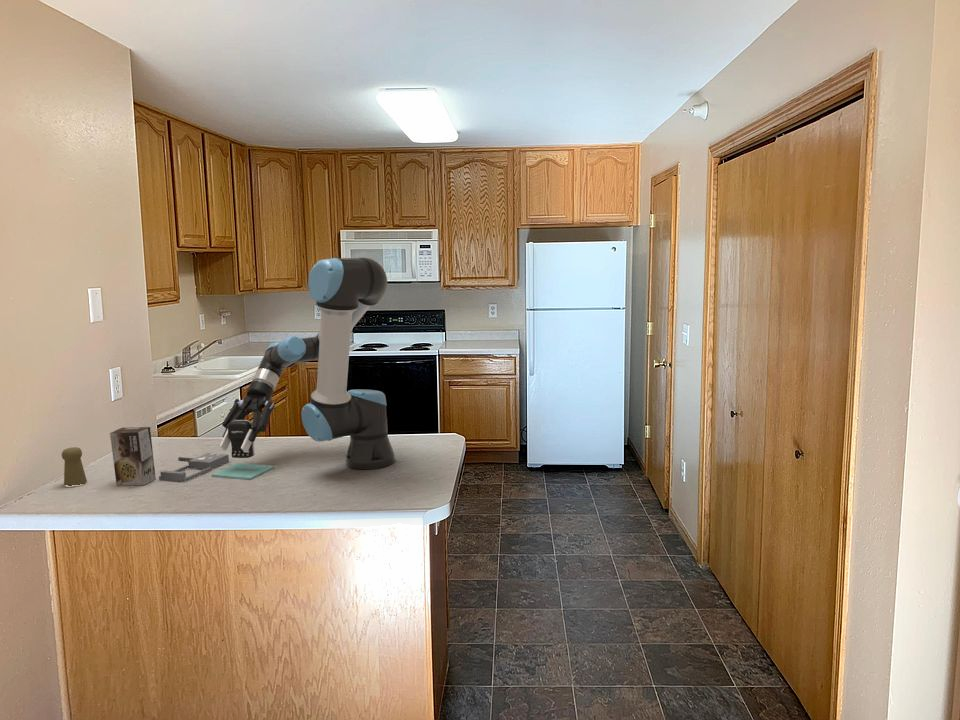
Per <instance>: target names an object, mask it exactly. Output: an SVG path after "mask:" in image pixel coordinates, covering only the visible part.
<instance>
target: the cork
mask: <svg viewBox="0 0 960 720" xmlns="http://www.w3.org/2000/svg"><path fill="white" fill-rule="evenodd" d="M82 457H83V451H82V449H81V448H80V447H73V446H72V447H68V448H65V449H63V450H62V452H61V458H62V459H63V461H64V467H63V468H64V469H63V470H64V471H63V480H64V481H63V486H64V485H68V486H72V485H80V484H84V483H86V482H87V483H88V479H87V476H86V473H85V469H84V465H83V462H82ZM87 483H86V484H87ZM84 485H85V484H84Z"/></svg>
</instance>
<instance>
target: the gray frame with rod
mask: <svg viewBox="0 0 960 720" xmlns="http://www.w3.org/2000/svg"><path fill="white" fill-rule="evenodd" d="M177 460H178V461H183V460H189V461H187V462H188V464H187V465H183V466H181V467H178V468H177V469H174V470H165V469H164V470H162V471H160V473H159V474H160V475H159V476H158V480H159V481H167V480H170V481H171V482H178V481H182V482H183V483H186V482H188V480H189V481H191V480H193V479H195V478H194V477H196V478H197V476H198V477H200V476H203V475H205V474H206V473H209V472H212V470H214V469H217V468H218V467H221V466H223V465H225V464H228V463H229V462H230V458H229V454H225V453H216V452H215V453H214V452H208V453H204V454H202V455H200V456H197V457H194V458H193V457H182V456H179V457H178V459H177ZM187 468H196V469H195V470H199V471H197V472H194V473H193V474H190V475H188V476H187V473H186V472H185V471H186V470H185V469H187ZM200 469H204V470H200ZM183 470H184V471H183ZM187 470H188V469H187ZM181 471H182V472H181ZM202 474H203V475H202ZM199 475H200V476H199ZM192 478H193V479H192ZM190 479H191V480H190ZM185 481H186V482H185ZM182 482H181V483H182Z"/></svg>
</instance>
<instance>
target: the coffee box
mask: <svg viewBox="0 0 960 720" xmlns="http://www.w3.org/2000/svg"><path fill="white" fill-rule="evenodd" d="M109 437H110V438H109V439H110V445H111V453H112V461H113V467H114V474H115V475H114V476H115V483H116V484H115V485H116V486H145V485H147V484H149V483H151V482H153V481H154V480H156V479H157V478H156V470H155V460H154V451H153V443H152V433H151V427H150V426H140V427H137V426H136V427H134V426H131V427H128V426H127V427H119V428H118V429H116V430H114V431H111V432H110V433H109Z"/></svg>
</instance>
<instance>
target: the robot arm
mask: <svg viewBox="0 0 960 720" xmlns="http://www.w3.org/2000/svg"><path fill="white" fill-rule="evenodd" d="M307 284H308V290H309V295H310V297H311V298H312V299H313V300H314V301H315V306H316V307H317V308H318V309H319V310H320V325H319V326H320V327H319V328H320V330H319V332H318V333H317V335H315V336H309V337H298V336H297V335H291V336H287V337H286V338H284V339H282V340H281V341H280V342H277V341H276V342H272V343H269V344H268V347H267V349H266V350H265V351H264V355H263V357H262V359H261V361H260V362H259V366H258V367H257V369H256V371H255V374H254V376H253V378H252V379H251V382H250V383H249V386H248V388H247V389H246V396H245V397H244V398H243V399H239V398H236V399H235V400H234V402H233V405H232V407H231V408H230V411H229V412H228V414H227V415H226V417H225V419H224V421H223V422H222V424H221V425H222V427H224V428H225V430H224V432H223V434H222V440H221V442H220V445H219V448H220V449H221V450H223V451H227V450H228V448H229V445H231V439H229V438H228V425H229V423H231V422H232V421H234V420H245V418H246V416H249V415H250V414H251V413H253V416H252V417H253V418H252V425H253V426H252V427H251V428H252V429H253V430H252V429H249V431H248V433H247V435H246V438H245V440H244V442H243V444H242V446H241V449H242V450H243V451H244V452H246V453H247V452H248V450H249V448H250V446H251V444H252V442H254V443H255V440H256V439H257V437H258V435H259V433H261V432H262V433H263V432H265V431H266V430H267V427H268V423H269V420H270V418H271V414H272V412H273V410H274V408H275V407H276V405H275V403H274V402H273V401H271V399H272V396H273V394H274V391H275V389H276V387H277V385H278V383H279V380H280V378H281V377H282V374H283V372H284V370H285V369H286V368H288V367H289V366H291V365H292V364H296V363H303V362H310V361H316V360H317V362H318V363H317V376H316V377H317V379H316V389H315V390H313V391H312V392H311V394H310V403H306V404H305V405H304V406H303V407H302V409H301V421H302V425H303V428H304V430H305V432H306V434H307V435H308V437H309V438H311V439H312V440H313V441H315V442H319V443H320V442H321V443H322V442H326V441H328V442H330V441H332V440H336V439H339V438H343V437H347V436H349V437H350V438H349V440H350V441H349V445H348V448H347V452H346V456H345V465H346V466H347V467H348V468H351V469H355V470H373V469H380V468H385V467H389V466H390V465H393V464H394V463H395V461H396V459H395V457H396V455H395V452H394V450H393V447H392V444H391V442H390V439H389V434H388V431H389V430H388V429H389V428H388V415H387V413H388V412H387V405H388V404H387V398H386V394H385V393H384V392H383V391H380V390H374V389H356V388H355V389H350V390H349V389H348V391H347V388H348V374H349V361H350V349H351V347H350V346H351V345H350V344H351V335H352V334H351V333H352V330H353V328H354V327H355V326H356V325H357V323H359V321H360V320H361V319H362V318H363V316H364V315H365V314H366V312H367V311H368V310H369V309H370V307H373V306H374V307H375V306H376V305H377V304H378V303H379V302H380V301H381V300H382V298H383V297H384V295H385V293H386V292H387V291H386V290H387V286H388V277H387V273H386V271H385V269H384V267H383V266H382V265H381V264H380V263H379V262H378V261H376V260H374V259H372V258H369V257H348V258H347V257H343V258H341V257H340V258H336V257H332V258H326V259H320V260H318V261H317V262H316V263H315V264H313V266H312V268H311V270H310V272H309V276H308V283H307Z"/></svg>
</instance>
